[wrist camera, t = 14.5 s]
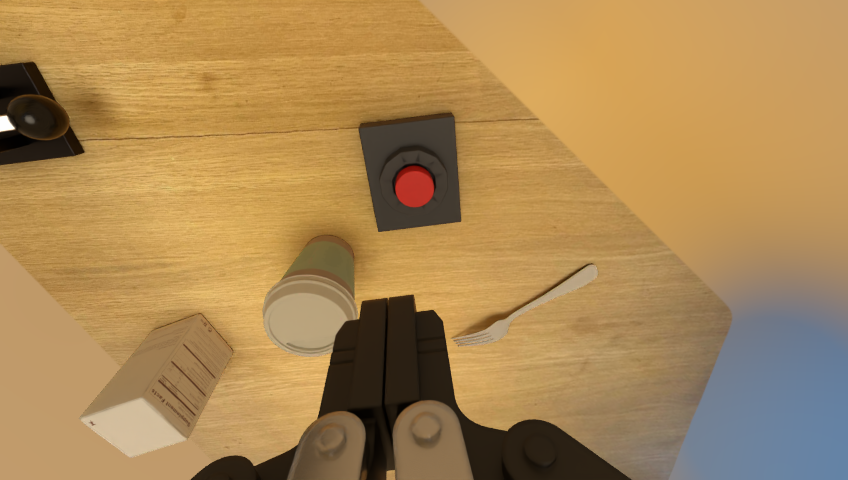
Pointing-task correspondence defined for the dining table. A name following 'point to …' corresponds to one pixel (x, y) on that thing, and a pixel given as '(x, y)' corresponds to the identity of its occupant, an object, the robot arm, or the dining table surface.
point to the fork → (530, 307)
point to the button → (414, 186)
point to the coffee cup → (312, 299)
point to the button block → (412, 146)
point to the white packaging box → (160, 388)
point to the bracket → (13, 145)
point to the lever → (35, 117)
